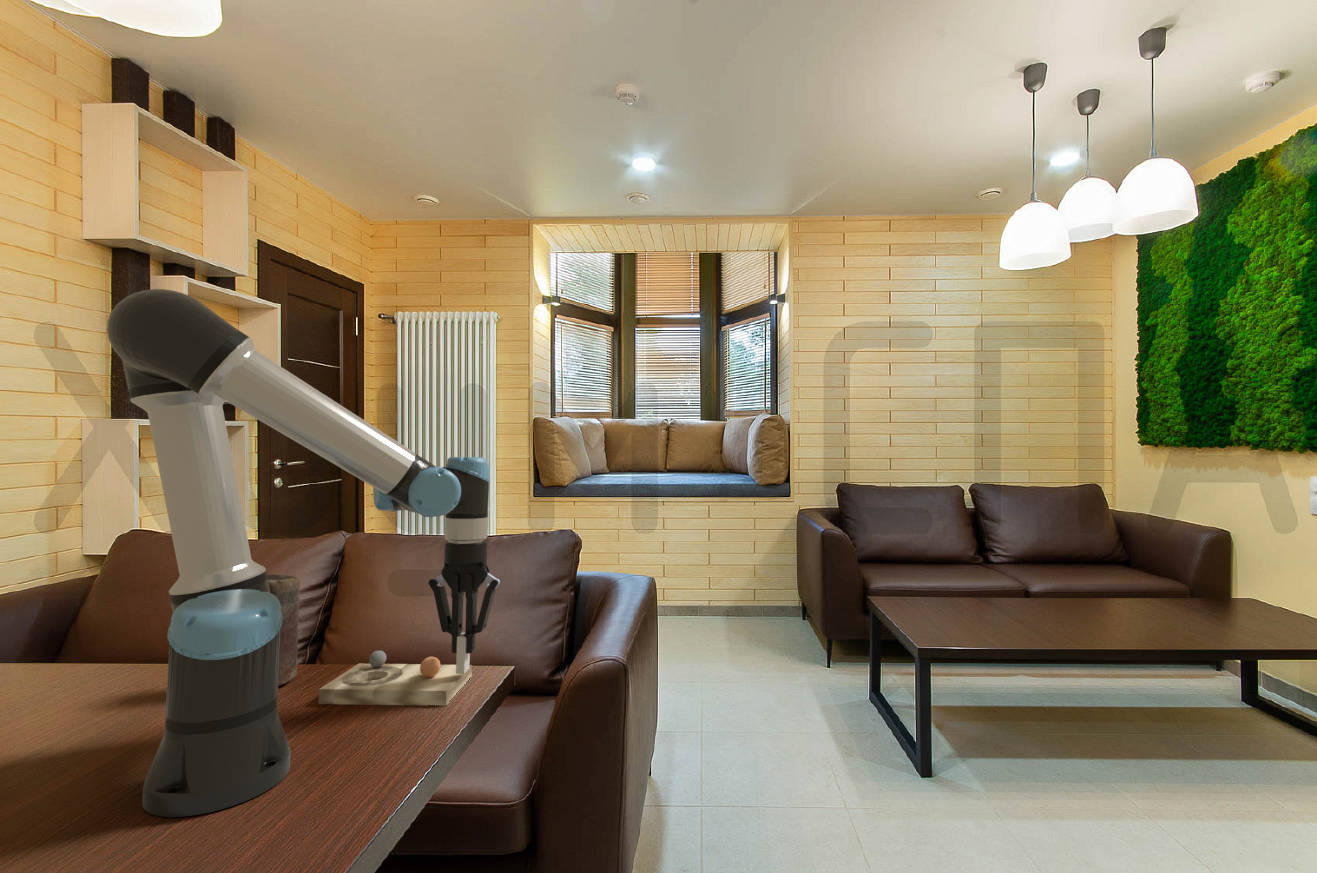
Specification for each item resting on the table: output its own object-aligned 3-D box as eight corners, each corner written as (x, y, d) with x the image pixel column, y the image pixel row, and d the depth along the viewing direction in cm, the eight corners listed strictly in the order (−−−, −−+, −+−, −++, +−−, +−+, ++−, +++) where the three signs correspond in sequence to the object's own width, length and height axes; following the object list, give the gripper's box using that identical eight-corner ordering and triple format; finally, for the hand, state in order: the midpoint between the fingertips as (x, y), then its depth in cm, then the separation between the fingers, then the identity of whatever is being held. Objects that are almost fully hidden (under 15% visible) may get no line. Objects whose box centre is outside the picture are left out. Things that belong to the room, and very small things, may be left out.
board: (471, 678, 112) (471, 665, 112) (446, 705, 99) (446, 690, 100) (358, 676, 113) (359, 663, 113) (318, 704, 100) (319, 689, 100)
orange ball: (443, 677, 106) (443, 657, 106) (423, 681, 104) (424, 661, 104) (436, 671, 109) (436, 652, 109) (417, 676, 106) (417, 656, 106)
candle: (264, 677, 112) (268, 572, 113) (304, 675, 113) (308, 571, 114) (240, 692, 104) (245, 579, 105) (283, 691, 105) (288, 579, 106)
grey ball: (388, 667, 111) (388, 651, 111) (371, 670, 109) (371, 654, 109) (383, 663, 113) (384, 647, 113) (366, 666, 111) (367, 650, 111)
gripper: (507, 538, 111) (504, 664, 110) (439, 537, 111) (435, 663, 110) (495, 543, 103) (492, 679, 102) (422, 542, 104) (418, 677, 102)
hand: (462, 670), depth 106 cm, fingers closed
